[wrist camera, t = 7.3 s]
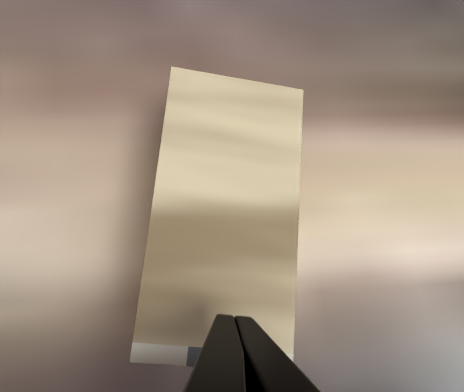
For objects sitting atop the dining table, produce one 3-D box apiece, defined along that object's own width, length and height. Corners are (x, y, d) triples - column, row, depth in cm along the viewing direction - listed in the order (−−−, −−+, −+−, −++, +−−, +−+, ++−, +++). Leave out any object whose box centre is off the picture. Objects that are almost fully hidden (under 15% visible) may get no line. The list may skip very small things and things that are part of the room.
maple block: (293, 373, 11) (303, 89, 14) (129, 362, 11) (171, 66, 13) (255, 356, 16) (268, 141, 18) (136, 347, 15) (167, 125, 18)
